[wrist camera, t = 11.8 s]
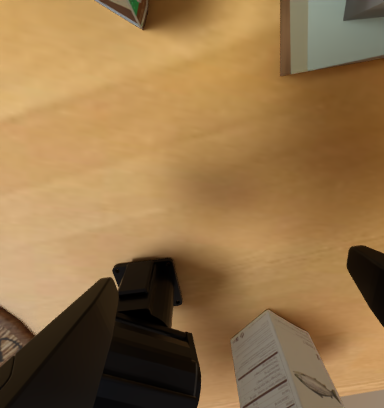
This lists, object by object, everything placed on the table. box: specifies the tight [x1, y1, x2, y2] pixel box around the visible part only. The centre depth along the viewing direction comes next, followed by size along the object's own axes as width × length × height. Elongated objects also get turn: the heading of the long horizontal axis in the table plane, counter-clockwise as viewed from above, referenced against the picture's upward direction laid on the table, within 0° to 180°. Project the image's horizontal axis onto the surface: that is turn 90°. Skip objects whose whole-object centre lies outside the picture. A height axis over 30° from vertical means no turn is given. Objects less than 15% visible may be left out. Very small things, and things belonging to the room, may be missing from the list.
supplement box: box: [230, 310, 345, 408], centre depth 24 cm, size 7×7×13 cm
